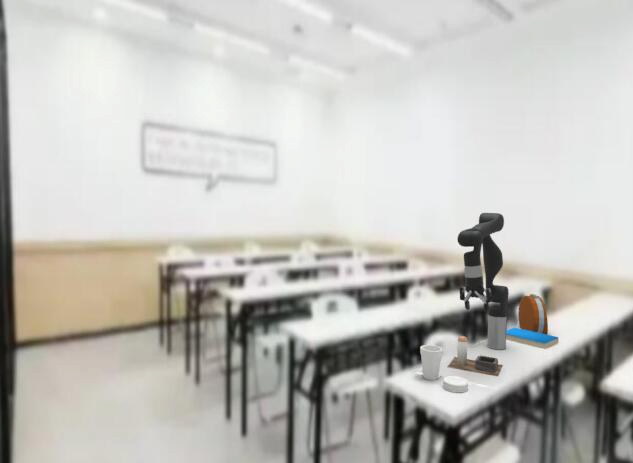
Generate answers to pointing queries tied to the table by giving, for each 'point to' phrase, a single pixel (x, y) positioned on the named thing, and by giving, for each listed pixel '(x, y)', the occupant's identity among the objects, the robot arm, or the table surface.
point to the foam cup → (431, 361)
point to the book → (531, 338)
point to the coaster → (455, 384)
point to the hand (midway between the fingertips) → (476, 310)
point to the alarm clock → (533, 314)
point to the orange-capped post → (462, 351)
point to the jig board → (479, 365)
